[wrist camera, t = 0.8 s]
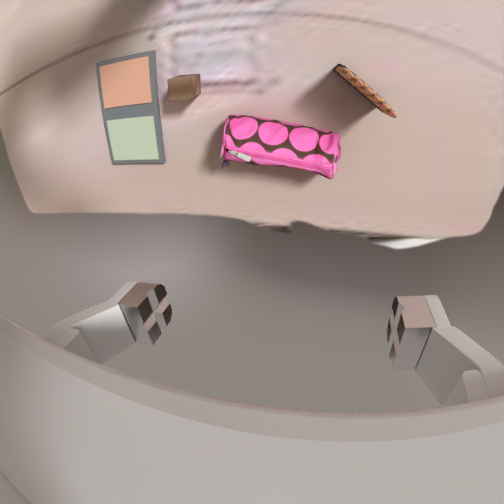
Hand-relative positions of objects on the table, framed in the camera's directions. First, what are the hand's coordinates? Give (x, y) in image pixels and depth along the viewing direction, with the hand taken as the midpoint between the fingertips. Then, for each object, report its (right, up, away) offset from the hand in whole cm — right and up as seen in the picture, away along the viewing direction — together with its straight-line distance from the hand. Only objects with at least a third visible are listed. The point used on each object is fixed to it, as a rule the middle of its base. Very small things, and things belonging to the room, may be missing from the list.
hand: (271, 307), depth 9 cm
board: (-26, +32, +40) cm, 58 cm away
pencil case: (+5, +24, +42) cm, 48 cm away
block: (-12, +34, +36) cm, 51 cm away
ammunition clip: (+18, +32, +32) cm, 49 cm away
